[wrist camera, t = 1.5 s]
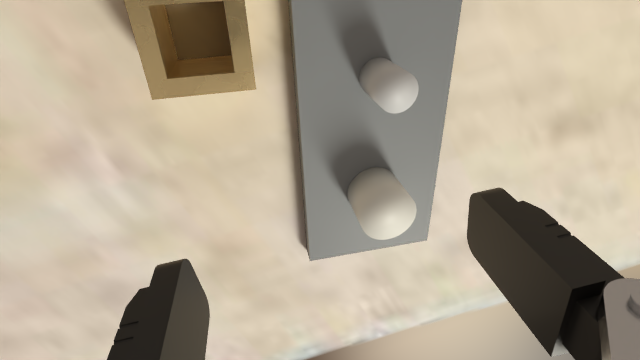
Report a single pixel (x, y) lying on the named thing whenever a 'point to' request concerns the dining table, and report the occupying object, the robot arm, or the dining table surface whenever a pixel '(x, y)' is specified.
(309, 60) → the stub plate
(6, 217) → the dining table surface
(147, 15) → the hollow square frame
